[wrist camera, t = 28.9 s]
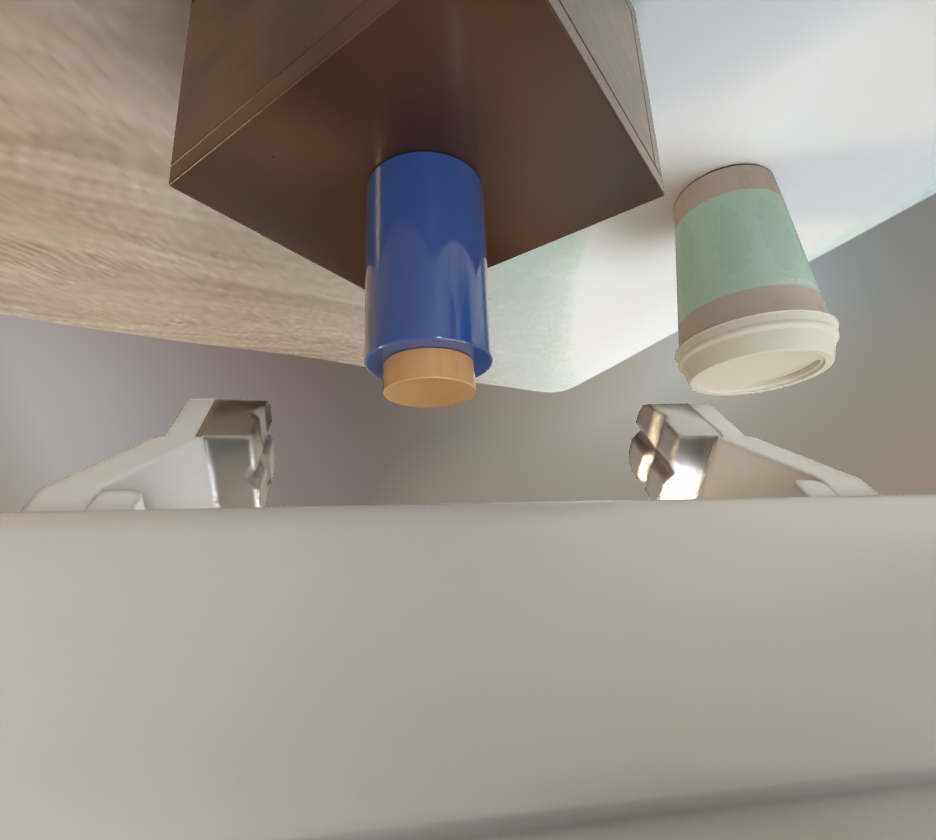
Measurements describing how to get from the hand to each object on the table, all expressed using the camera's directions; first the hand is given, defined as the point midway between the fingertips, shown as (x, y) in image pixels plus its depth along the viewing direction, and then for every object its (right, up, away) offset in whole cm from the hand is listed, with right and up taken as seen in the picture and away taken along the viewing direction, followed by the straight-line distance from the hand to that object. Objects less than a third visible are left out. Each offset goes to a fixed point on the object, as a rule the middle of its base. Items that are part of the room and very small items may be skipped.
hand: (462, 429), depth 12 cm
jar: (-1, +8, +8) cm, 12 cm away
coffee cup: (+16, +14, +23) cm, 32 cm away
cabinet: (-2, +17, +11) cm, 20 cm away
